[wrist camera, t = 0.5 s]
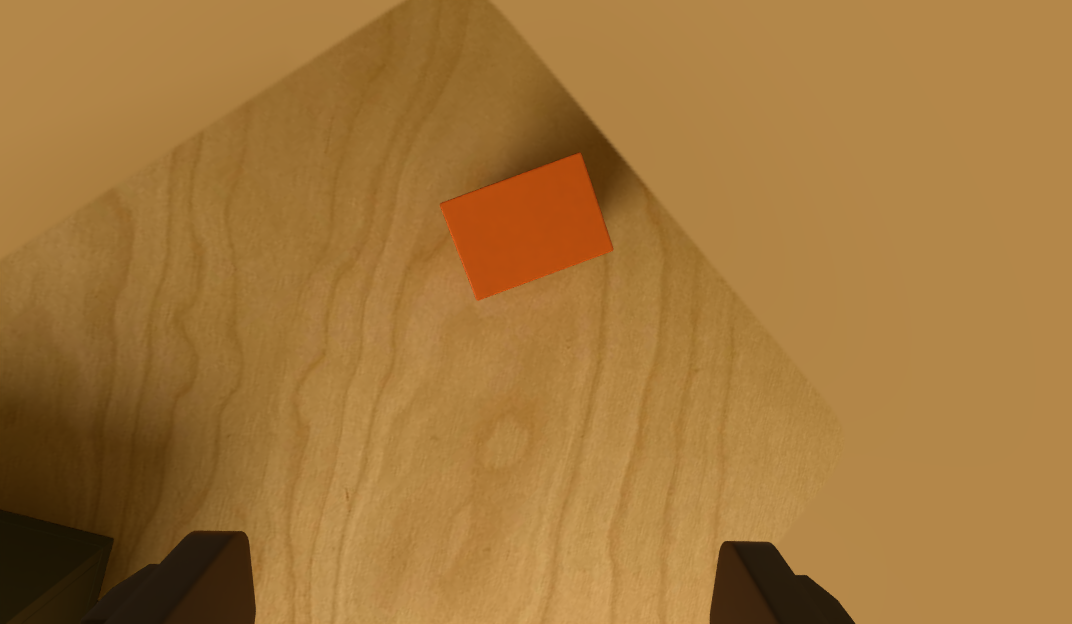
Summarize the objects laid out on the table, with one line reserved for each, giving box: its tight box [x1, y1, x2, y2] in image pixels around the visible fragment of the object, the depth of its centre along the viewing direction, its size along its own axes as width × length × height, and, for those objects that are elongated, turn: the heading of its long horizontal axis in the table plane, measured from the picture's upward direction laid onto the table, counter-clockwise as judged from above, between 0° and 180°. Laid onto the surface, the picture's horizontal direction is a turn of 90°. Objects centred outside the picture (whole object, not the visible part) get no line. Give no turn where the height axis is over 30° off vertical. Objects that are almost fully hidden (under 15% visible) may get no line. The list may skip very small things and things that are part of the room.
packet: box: [440, 152, 613, 301], centre depth 23 cm, size 4×5×10 cm
